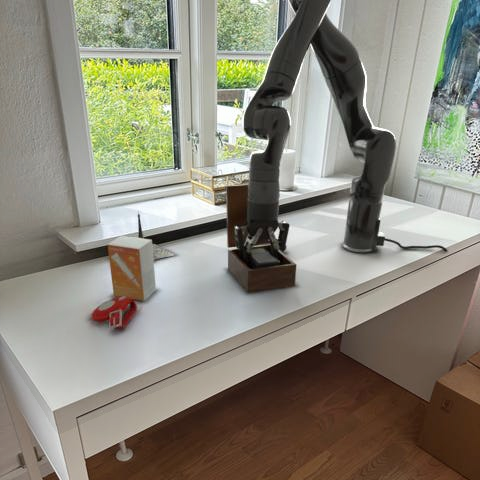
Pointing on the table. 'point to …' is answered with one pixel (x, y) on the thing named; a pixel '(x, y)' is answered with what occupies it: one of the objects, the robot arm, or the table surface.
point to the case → (262, 272)
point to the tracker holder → (115, 312)
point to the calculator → (262, 259)
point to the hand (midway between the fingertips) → (260, 263)
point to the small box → (132, 267)
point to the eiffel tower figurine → (157, 250)
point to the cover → (237, 212)
